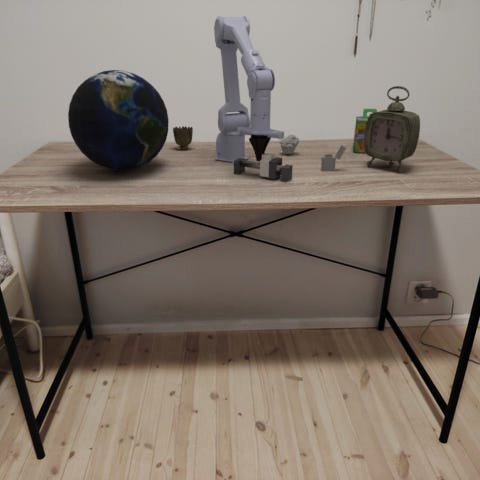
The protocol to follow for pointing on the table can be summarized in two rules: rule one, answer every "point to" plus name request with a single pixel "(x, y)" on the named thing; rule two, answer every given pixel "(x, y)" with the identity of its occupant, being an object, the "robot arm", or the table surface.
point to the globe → (118, 120)
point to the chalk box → (361, 131)
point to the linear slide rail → (242, 163)
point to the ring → (274, 167)
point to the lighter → (331, 160)
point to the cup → (183, 136)
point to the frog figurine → (289, 144)
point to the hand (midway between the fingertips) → (259, 160)
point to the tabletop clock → (392, 132)
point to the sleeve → (265, 164)
